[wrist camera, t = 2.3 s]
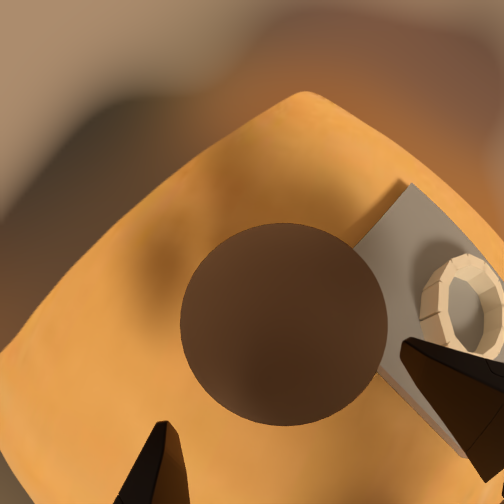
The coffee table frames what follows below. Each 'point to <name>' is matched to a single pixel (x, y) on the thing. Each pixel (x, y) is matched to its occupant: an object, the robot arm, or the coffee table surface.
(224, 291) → the walnut column
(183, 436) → the coffee table surface
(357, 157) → the coffee table surface
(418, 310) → the base board
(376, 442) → the coffee table surface
